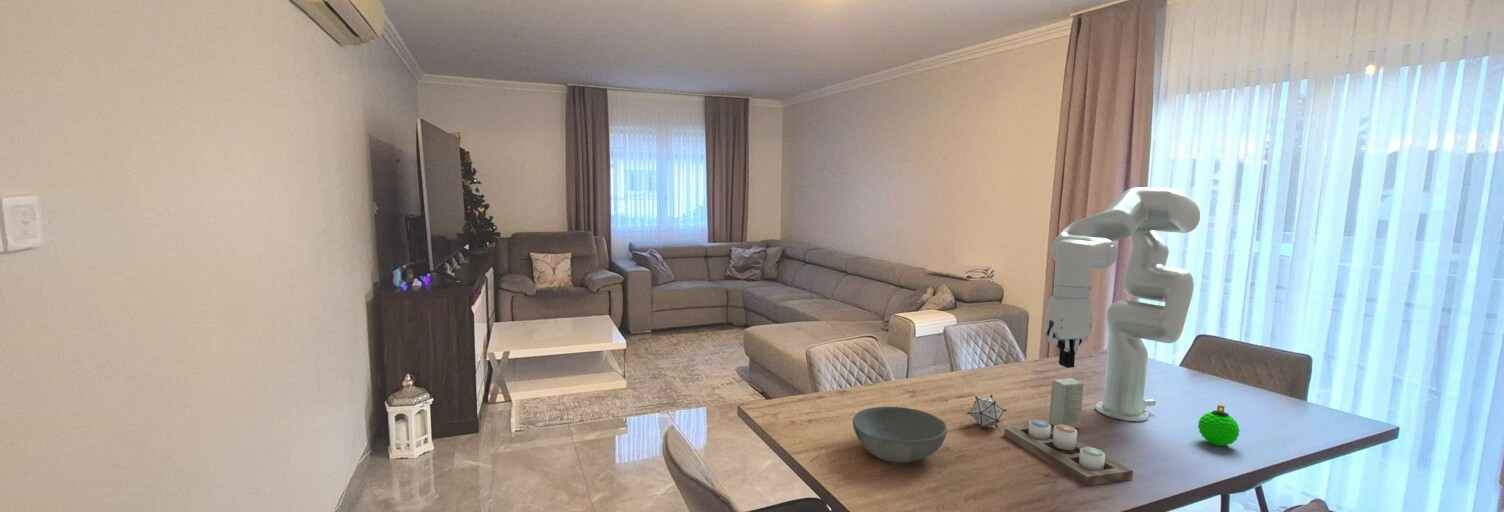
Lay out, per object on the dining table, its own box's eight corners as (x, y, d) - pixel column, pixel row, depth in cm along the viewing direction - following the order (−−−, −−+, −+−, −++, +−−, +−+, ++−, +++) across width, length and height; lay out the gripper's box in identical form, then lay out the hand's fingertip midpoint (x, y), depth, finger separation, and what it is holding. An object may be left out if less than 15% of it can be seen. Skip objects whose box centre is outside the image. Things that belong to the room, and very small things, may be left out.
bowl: (929, 486, 125) (931, 449, 124) (835, 460, 136) (837, 426, 135) (954, 449, 143) (957, 417, 142) (870, 429, 154) (872, 398, 153)
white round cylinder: (1091, 463, 136) (1092, 445, 136) (1108, 473, 132) (1110, 454, 131) (1073, 465, 135) (1075, 447, 135) (1090, 475, 131) (1092, 456, 130)
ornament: (1188, 440, 152) (1193, 401, 151) (1209, 435, 155) (1213, 397, 154) (1224, 453, 145) (1229, 413, 143) (1245, 448, 148) (1250, 409, 147)
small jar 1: (1039, 434, 152) (1041, 418, 151) (1054, 442, 147) (1055, 425, 147) (1023, 436, 150) (1024, 419, 150) (1037, 444, 146) (1038, 427, 145)
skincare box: (1068, 421, 162) (1072, 377, 161) (1080, 428, 158) (1084, 383, 156) (1047, 423, 161) (1051, 378, 159) (1059, 430, 156) (1063, 384, 155)
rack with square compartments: (1044, 431, 155) (1044, 423, 155) (1132, 479, 130) (1133, 470, 130) (1004, 435, 152) (1004, 427, 152) (1086, 485, 127) (1087, 476, 127)
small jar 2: (1064, 440, 144) (1066, 422, 143) (1080, 449, 139) (1082, 431, 139) (1047, 442, 143) (1049, 424, 142) (1063, 450, 138) (1064, 432, 137)
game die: (991, 442, 156) (1011, 422, 150) (960, 428, 158) (977, 407, 151) (994, 416, 163) (1013, 395, 156) (964, 402, 164) (981, 381, 158)
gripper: (1085, 286, 150) (1080, 358, 153) (1033, 290, 146) (1029, 364, 149) (1109, 292, 143) (1104, 367, 146) (1056, 297, 139) (1051, 374, 142)
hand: (1066, 365), depth 147 cm, fingers closed
